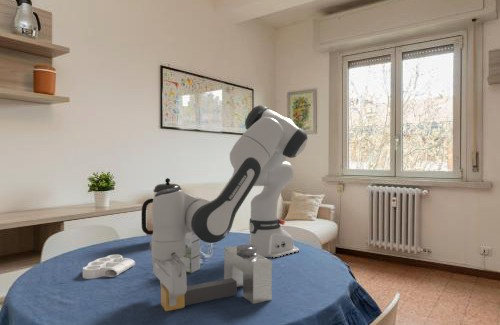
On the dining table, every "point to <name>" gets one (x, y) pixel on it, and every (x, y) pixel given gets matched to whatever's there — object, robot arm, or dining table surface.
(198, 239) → the syrup box
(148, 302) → the dining table surface
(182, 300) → the grey and tan bar
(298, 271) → the dining table surface
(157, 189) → the coffee press
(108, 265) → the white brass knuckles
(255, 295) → the grey bridge block
